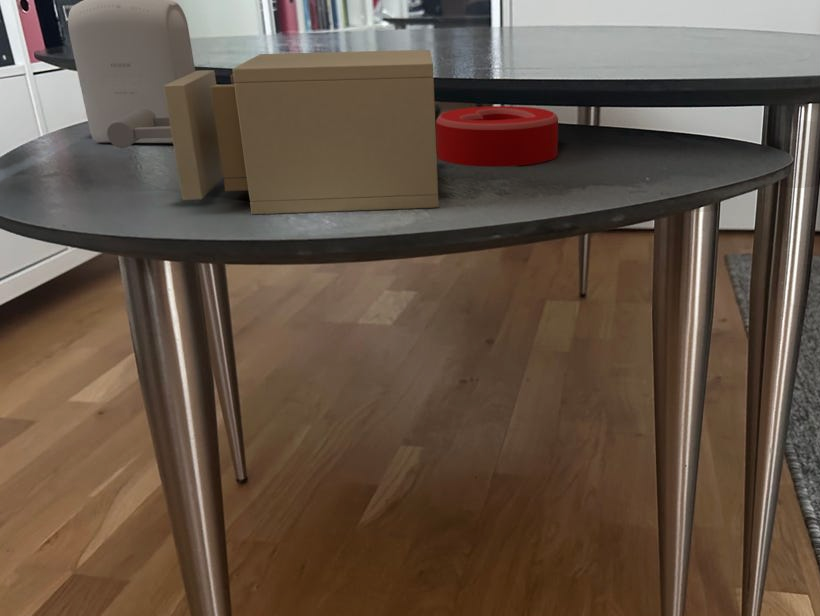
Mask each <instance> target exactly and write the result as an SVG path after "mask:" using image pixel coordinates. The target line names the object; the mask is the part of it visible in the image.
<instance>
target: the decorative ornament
mask: <svg viewBox="0 0 820 616" xmlns="http://www.w3.org/2000/svg"><path fill="white" fill-rule="evenodd" d="M435 128H436V154H437V158H438V159H439V160H440V161H443V162H446V163H450V164H453V165H454V164H455V165H462V166H471V167H520V166H521V167H522V166H529V165H535V164H540V163H541V164H542V163H544V162H548V161H551V160H554V159H555V158H556V157H557V156H558V153H559V152H558V151H559V147H558V146H559V145H558V144H559V117H558V115H557V114H556V113H555V112H553V111H552V110H548V109H544V108H539V107H530V106H516V105H515V106H513V105H511V106H510V105H506V106H505V105H502V106H500V105H495V106H493V105H491V106H477V107H476V106H475V107H474V106H473V107H466V108H465V107H464V108H458V109H453V110H448V111H445V112H443V113H441V114H439V115H438V117H437V118H436V119H435Z"/></svg>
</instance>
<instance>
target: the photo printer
mask: <svg viewBox="0 0 820 616" xmlns="http://www.w3.org/2000/svg"><path fill="white" fill-rule="evenodd" d="M67 26H68V27H67V28H68V29H67V30H68V34H69V39H70V44H71V48H72V54H73V58H74V63H75V67H76V72H77V75H78V76H77V77H78V82H79V87H80V90H81V95H82V100H83V105H84V109H85V114H86V118H87V124H88V127H89V130H90V131H89V132H90V135H91V139H92V141H94V142H95V143H96V144H112V143H111V142H110V141H109V139H108V137H107V128H108V126H109V125H110V124H111V123H113V122H115V121H117V120H119V119H121V118H123V117H125V116H127V115H129V114H131V113H133V112H135V111H137V110H139V109H148V110H150V111H152V112H153V113H154V114H155V116H169V115H168V109H167V103H166V97H165V91H164V85H167V84H169V83H171V82H173V81H175V80H178V79H180V78H182V77H184V76H186V75H189V74H191V73H193V72H195V71H196V67H195V61H194V55H193V49H192V42H191V35H190V31H189V24H188V20H187V17H186V14H185V12H184V10H183V8H182V7H181V5H180V4H179V3H178V2H176V1H174V0H81V1H79V2H77V3H76V4H74V5H72V6H71V8H70V9H69V12H68V16H67ZM160 127H168V126H160ZM134 144H173V139H172V138H141V139H139V140H138V141H136V142H135V143H134Z"/></svg>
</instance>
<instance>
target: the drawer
mask: <svg viewBox="0 0 820 616" xmlns="http://www.w3.org/2000/svg"><path fill="white" fill-rule="evenodd" d="M230 83H231V84H230ZM230 83H229V84H217V79H216V72H215V70H214V69H206V70H204V69H203V70H195V72H193V73H191V74H189V75H186V76H184V77H182V78H180V79H178V80H175V81H173V82H171V83H169V84H167V85H164V91H165V97H166V103H167V109H168V115H169V116H155V114H154V113H153V112H152V111H150V110H148V109H139V110H137V111H135V112H133V113H131V114H129V115H127V116H125V117H123V118H121V119H119V120H117V121H115V122H113V123H111V124H110V125H109V126H108V128H107V137H108V139H109V141H110V142H111V143H110V144H112V145H113V146H114V147H117V148H120V149H124V148H128V147H129V146H131V145H133V144H136V143H135V142H136V141H138V140H139V139H141V138H172V139H173V143H172V144H173V150H174V157H175V163H176V169H177V175H178V181H179V187H180V192H181V198H182V200H183V201H192V200H193V201H194V200H195V201H196V200H203V199H204V198H205V196H207V195H208V194H209V192H210V191H211V190H212V189H213V188H214V187H215V186H216V185H217V184H218V182H220V180H222V178H223V186H224V191H225V192H238V191H239V192H241V191H248V183H247V176H246V168H245V161H244V153H243V146H242V138H241V131H240V123H239V116H238V108H237V101H236V93H235V86H234V84H235V82H234V78H233V73H232V74H231V75H230ZM160 126H168V127H160Z"/></svg>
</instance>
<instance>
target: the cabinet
mask: <svg viewBox="0 0 820 616" xmlns="http://www.w3.org/2000/svg"><path fill="white" fill-rule="evenodd" d="M432 58H433V57H432V54H431V50H430V49H412V50H411V49H405V50H403V49H402V50H365V51H329V52H328V51H326V52H323V51H322V52H292V53H289V52H288V53H287V52H285V53H284V52H283V53H260V54H258V55H256V56H254V57H252V58H250V59H248V60H246V61H244V62H242V63H240V64H239V65H237V66H235V67H233V68H232V74H233V78H234V82H235V84H234V86H235V93H236V101H237V108H238V116H239V123H240V131H241V138H242V146H243V153H244V161H245V168H246V176H247V183H248V190H247V192H248V197H249V201H250V202H249V205H250V213H251V215H269V214H291V213H292V214H296V213H297V214H298V213H323V212H324V213H325V212H350V211H351V212H353V211H355V212H356V211H377V210H379V211H381V210H404V209H405V210H407V209H433V208H434V209H435V208H439V205H440V204H439V184H438V183H439V182H438V181H439V179H438V161H437V160H438V159H437V158H438V155H437V130H436V105H435V103H436V102H435V82H434V81H435V79H434V63H433V62H434V61H433V59H432Z"/></svg>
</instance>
